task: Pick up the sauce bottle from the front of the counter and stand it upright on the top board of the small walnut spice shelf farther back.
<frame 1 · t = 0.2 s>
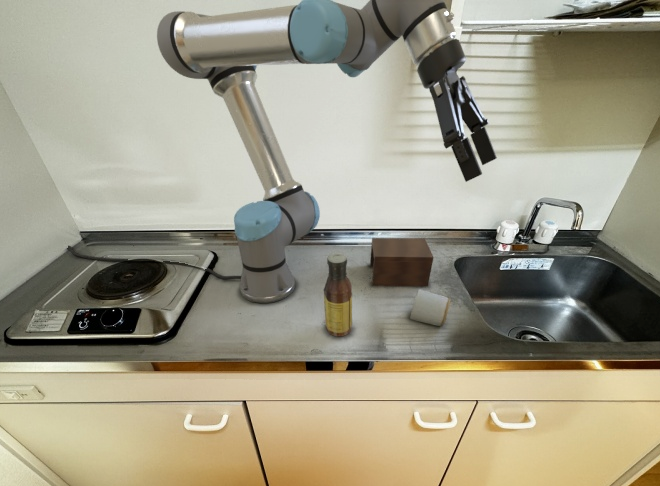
hand: (482, 169, 59), 35 cm above the countertop, tool tilted 35°, fingers open, 13 cm apart
sauce bottle: (338, 330, 76), on the countertop
white cylinder: (427, 317, 80), on the countertop
spice shelf: (397, 275, 96), on the countertop
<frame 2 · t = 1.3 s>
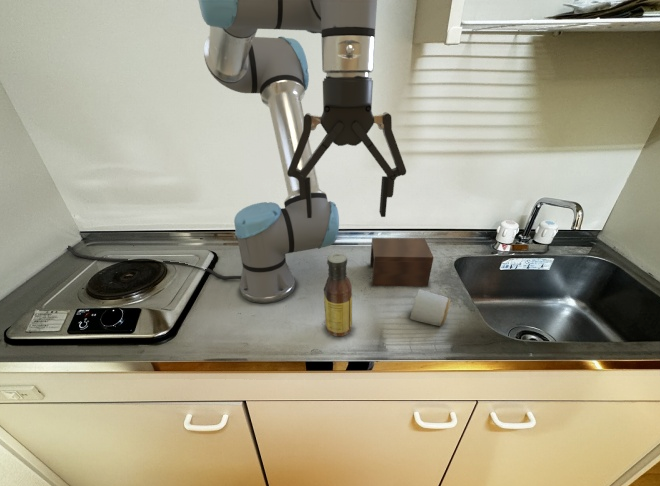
hand: (346, 215, 59), 29 cm above the countertop, tool pointing down, fingers open, 13 cm apart
nothing on the countertop moved.
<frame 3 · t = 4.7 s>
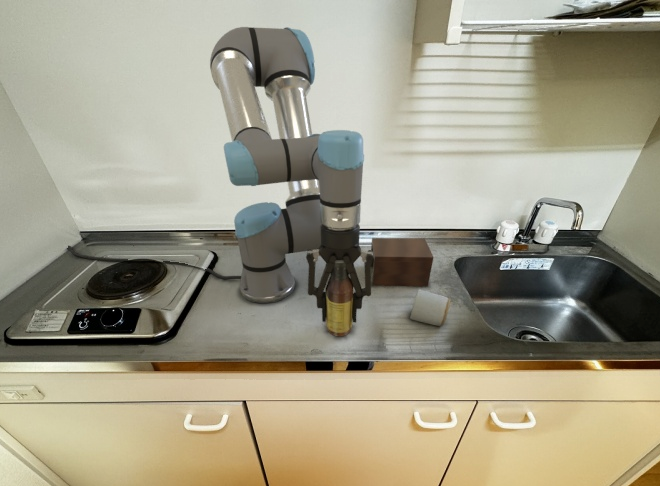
hand: (339, 318, 73), 4 cm above the countertop, tool pointing down, fingers closed on sauce bottle, 6 cm apart
sauce bottle: (338, 330, 76), on the countertop, touching gripper
everything else where it was.
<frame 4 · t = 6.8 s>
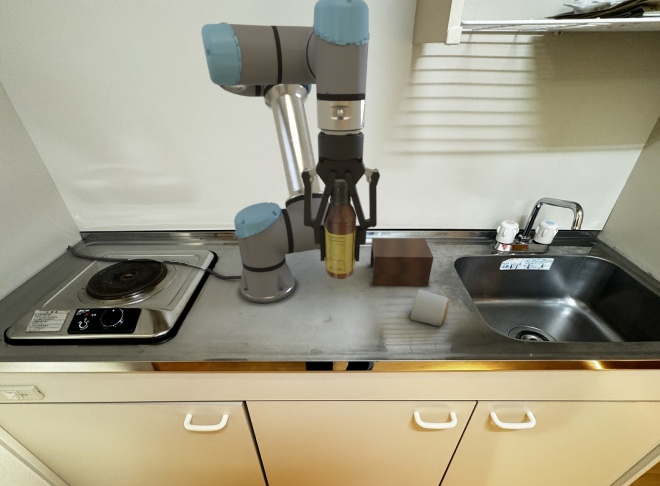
hand: (339, 257, 64), 20 cm above the countertop, tool pointing down, fingers closed on sauce bottle, 6 cm apart
sauce bottle: (339, 273, 67), point 15 cm above the countertop, touching gripper
everything else where it was.
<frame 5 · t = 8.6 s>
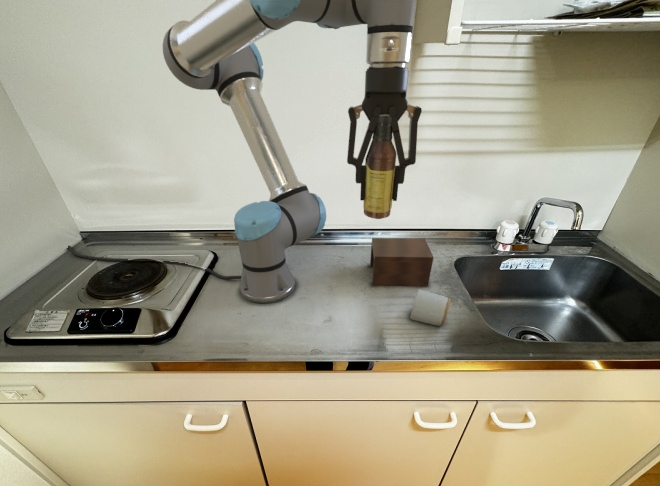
hand: (378, 198, 68), 28 cm above the countertop, tool pointing down, fingers closed on sauce bottle, 6 cm apart
sauce bottle: (376, 216, 71), point 24 cm above the countertop, touching gripper
everything else where it was.
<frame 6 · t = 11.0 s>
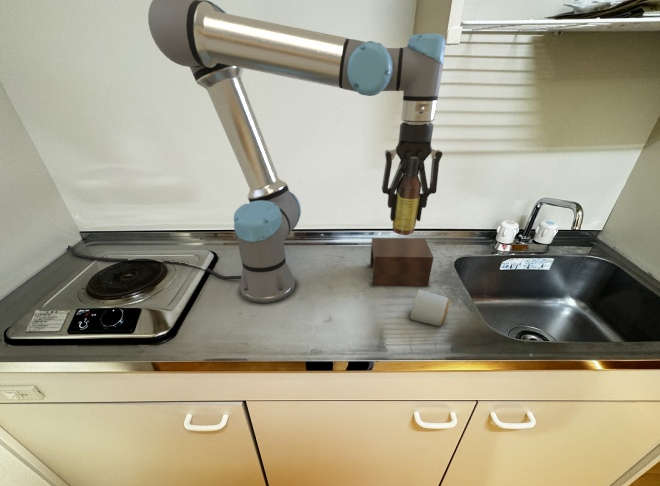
hand: (404, 218, 86), 18 cm above the countertop, tool pointing down, fingers closed on sauce bottle, 6 cm apart
sauce bottle: (402, 232, 88), point 14 cm above the countertop, touching gripper
everything else where it was.
when the fingers open (13 cm above the countertop, at t = 12.7 s): sauce bottle stays where it is, resting on spice shelf.
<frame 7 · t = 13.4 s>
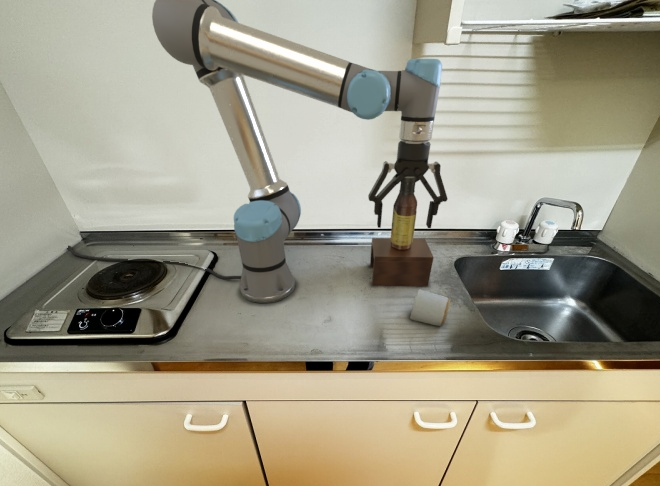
hand: (403, 226, 87), 16 cm above the countertop, tool pointing down, fingers open, 13 cm apart
sauce bottle: (400, 247, 91), point 9 cm above the countertop, touching spice shelf
everything else where it was.
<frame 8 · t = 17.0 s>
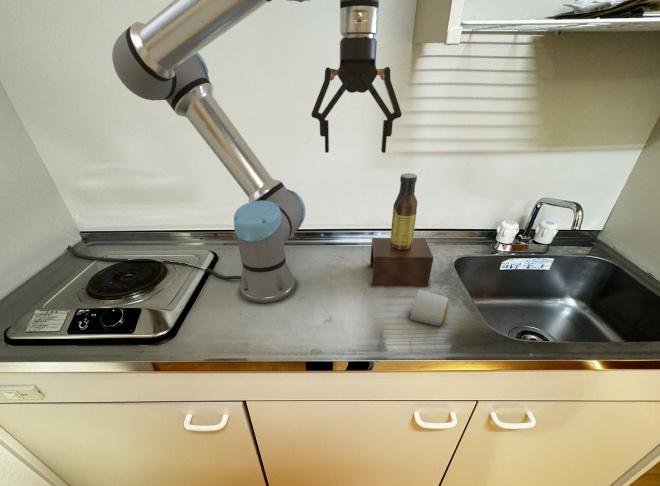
hand: (355, 151, 76), 35 cm above the countertop, tool pointing down, fingers open, 13 cm apart
nothing on the countertop moved.
at the end: sauce bottle inside the target area on the spice shelf (0.3 cm from its centre), point 9.3 cm above the spice shelf's base; sauce bottle tilted 0°; the gripper is holding nothing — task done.
